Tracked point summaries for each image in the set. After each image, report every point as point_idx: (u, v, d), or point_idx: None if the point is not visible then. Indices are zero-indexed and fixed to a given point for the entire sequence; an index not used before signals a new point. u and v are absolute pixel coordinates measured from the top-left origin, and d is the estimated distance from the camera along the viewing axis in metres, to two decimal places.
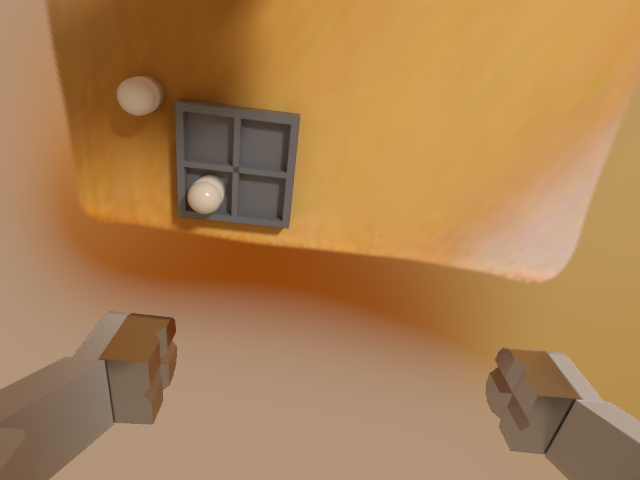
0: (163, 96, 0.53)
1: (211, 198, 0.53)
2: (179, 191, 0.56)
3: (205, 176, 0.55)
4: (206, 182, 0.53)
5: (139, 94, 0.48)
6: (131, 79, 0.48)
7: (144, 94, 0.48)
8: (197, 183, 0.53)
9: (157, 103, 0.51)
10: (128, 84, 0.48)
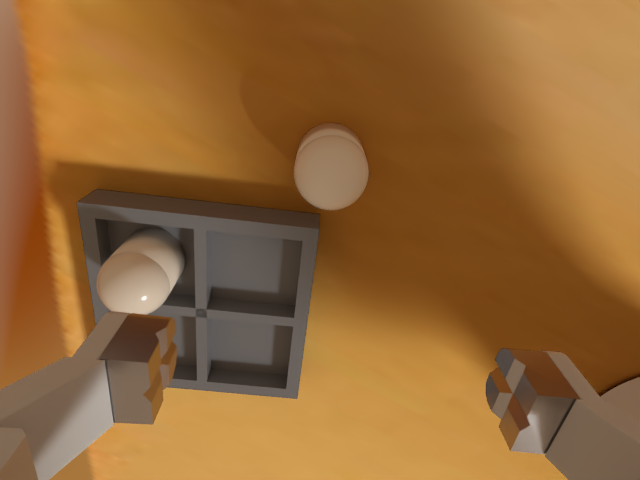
0: None
1: None
2: (137, 212, 0.26)
3: (179, 263, 0.28)
4: (168, 290, 0.26)
5: (340, 201, 0.23)
6: (367, 178, 0.23)
7: (339, 206, 0.23)
8: (163, 276, 0.26)
9: None
10: (360, 180, 0.23)
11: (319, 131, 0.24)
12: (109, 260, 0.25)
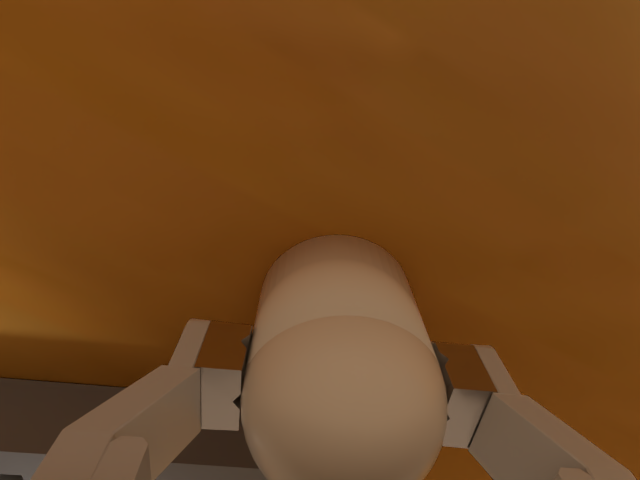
0: None
1: None
2: None
3: None
4: None
5: None
6: None
7: None
8: None
9: None
10: (433, 459, 0.08)
11: (310, 279, 0.09)
12: None
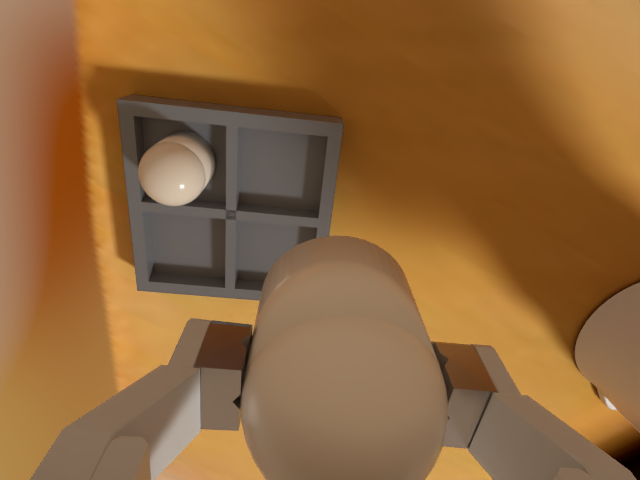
0: None
1: (177, 201, 0.27)
2: (173, 109, 0.28)
3: (211, 162, 0.30)
4: (204, 181, 0.28)
5: None
6: (445, 428, 0.08)
7: None
8: (200, 166, 0.28)
9: None
10: (433, 460, 0.08)
11: (310, 280, 0.09)
12: (150, 148, 0.27)
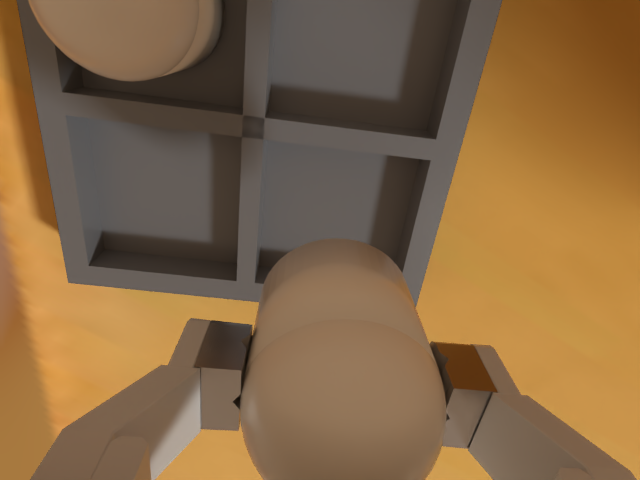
0: None
1: (122, 52, 0.11)
2: None
3: None
4: (196, 15, 0.11)
5: None
6: (444, 431, 0.08)
7: None
8: None
9: None
10: (431, 463, 0.08)
11: (309, 283, 0.09)
12: None
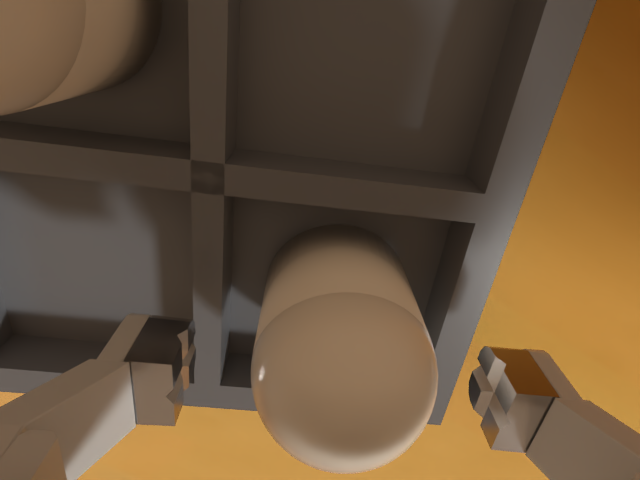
0: None
1: None
2: None
3: None
4: (78, 1, 0.06)
5: (371, 469, 0.09)
6: (435, 394, 0.09)
7: None
8: None
9: None
10: (424, 419, 0.09)
11: (313, 262, 0.10)
12: None
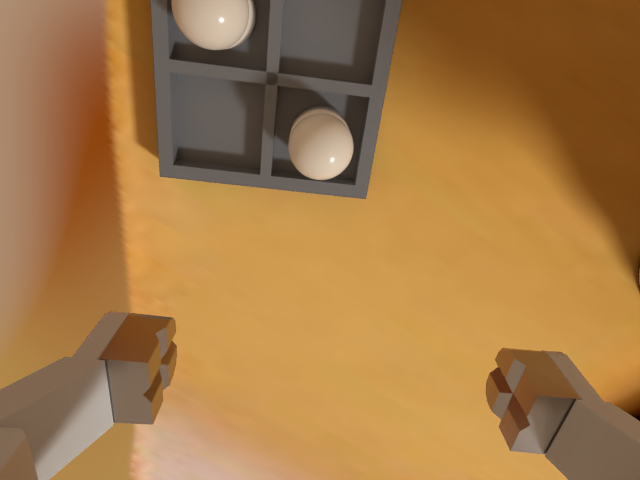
0: None
1: (216, 34, 0.23)
2: None
3: (253, 7, 0.26)
4: (248, 17, 0.24)
5: (329, 171, 0.27)
6: (352, 151, 0.27)
7: (328, 176, 0.27)
8: None
9: None
10: (346, 152, 0.26)
11: (310, 111, 0.28)
12: None
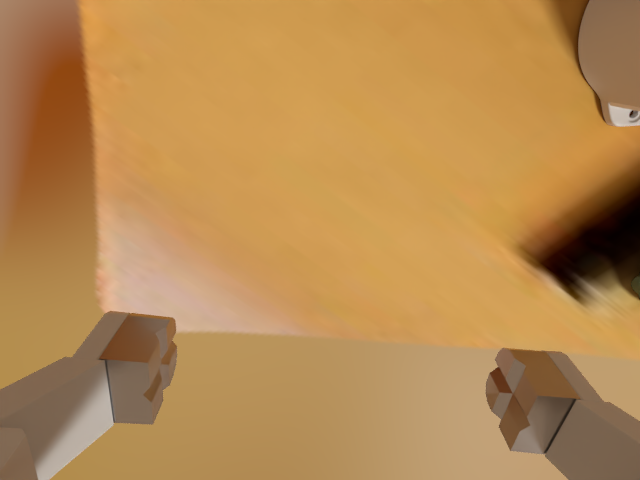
0: None
1: None
2: None
3: None
4: None
5: None
6: None
7: None
8: None
9: None
10: None
11: None
12: None
